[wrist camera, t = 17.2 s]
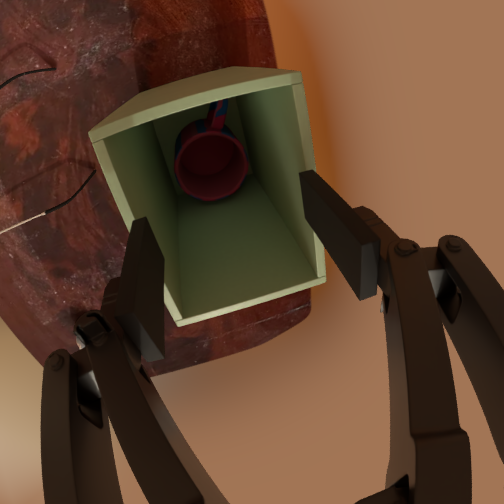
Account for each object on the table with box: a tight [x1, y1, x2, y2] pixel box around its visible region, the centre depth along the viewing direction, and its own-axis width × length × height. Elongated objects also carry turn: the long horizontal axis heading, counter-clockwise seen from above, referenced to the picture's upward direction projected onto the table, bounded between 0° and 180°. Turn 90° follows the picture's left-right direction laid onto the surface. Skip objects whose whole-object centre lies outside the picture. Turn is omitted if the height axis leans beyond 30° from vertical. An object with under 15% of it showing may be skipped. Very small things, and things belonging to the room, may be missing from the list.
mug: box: [174, 98, 249, 201], centre depth 29 cm, size 7×10×7 cm
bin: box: [88, 66, 326, 327], centre depth 24 cm, size 13×10×20 cm
